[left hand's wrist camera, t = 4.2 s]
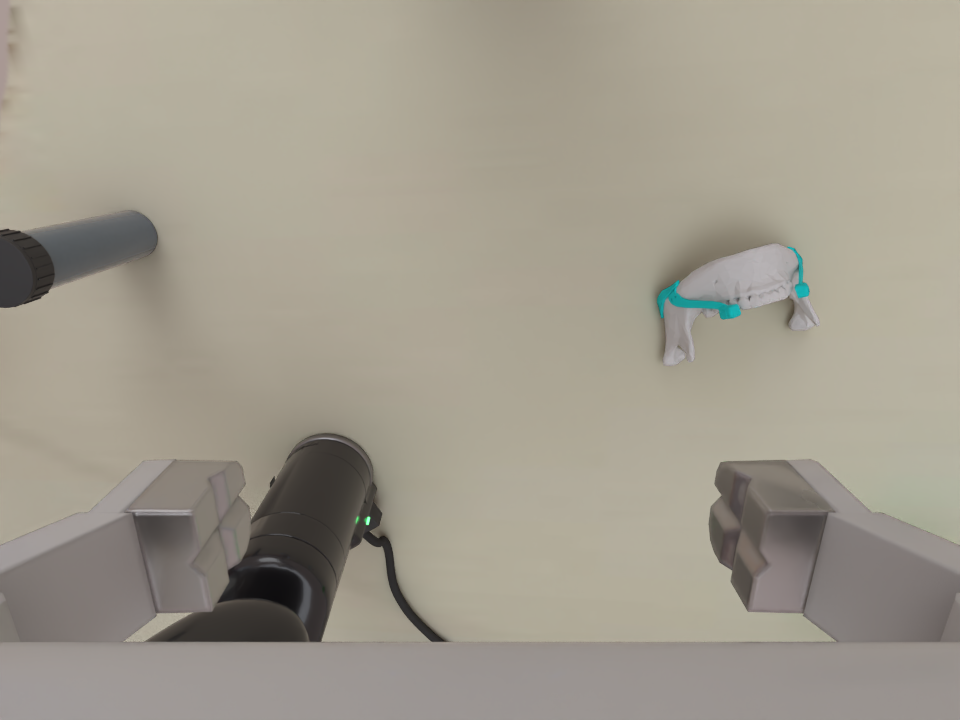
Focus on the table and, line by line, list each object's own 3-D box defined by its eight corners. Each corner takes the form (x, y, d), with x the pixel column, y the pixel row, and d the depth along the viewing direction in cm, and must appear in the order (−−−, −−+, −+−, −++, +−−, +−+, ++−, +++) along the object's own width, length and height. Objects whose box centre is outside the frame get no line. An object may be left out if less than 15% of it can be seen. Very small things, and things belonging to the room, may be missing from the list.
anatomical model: (848, 221, 47) (874, 340, 49) (789, 227, 57) (812, 325, 59) (660, 278, 49) (690, 392, 50) (636, 274, 59) (661, 369, 61)
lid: (12, 213, 41) (-14, 217, 39) (71, 272, 42) (49, 279, 40) (-34, 258, 42) (-62, 264, 40) (25, 314, 43) (2, 323, 41)
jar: (131, 200, 55) (-7, 224, 39) (167, 238, 56) (46, 276, 41) (100, 229, 56) (-48, 264, 40) (135, 266, 57) (5, 314, 42)
